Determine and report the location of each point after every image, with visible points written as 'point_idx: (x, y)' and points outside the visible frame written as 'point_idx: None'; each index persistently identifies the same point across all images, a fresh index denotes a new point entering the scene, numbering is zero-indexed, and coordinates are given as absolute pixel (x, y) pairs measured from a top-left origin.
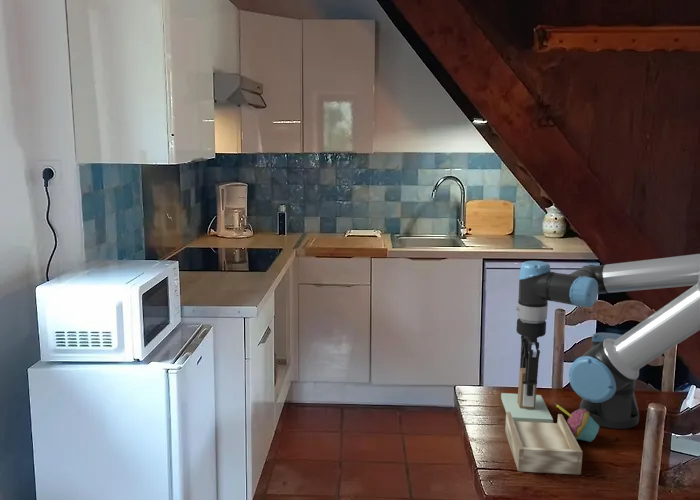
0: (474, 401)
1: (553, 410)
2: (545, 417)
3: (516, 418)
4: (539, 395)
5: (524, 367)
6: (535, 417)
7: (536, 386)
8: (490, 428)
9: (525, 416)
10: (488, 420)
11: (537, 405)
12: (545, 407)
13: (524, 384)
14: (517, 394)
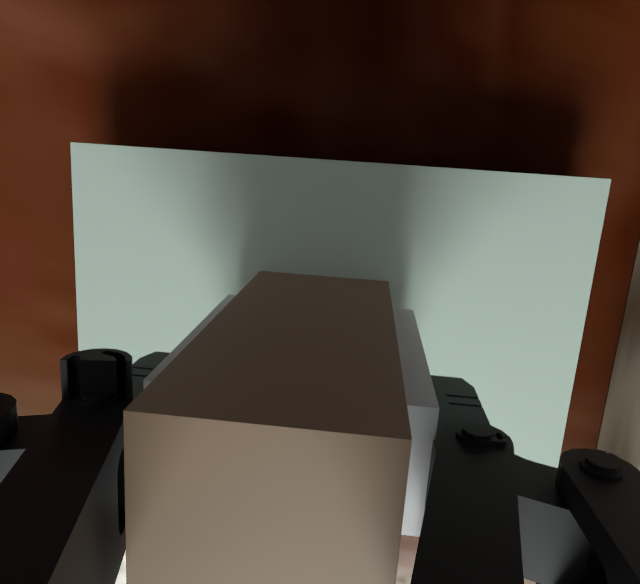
0: (119, 579)
1: (215, 60)
2: (565, 236)
3: (553, 466)
4: (84, 158)
5: (107, 574)
6: (561, 322)
7: (397, 352)
8: (526, 579)
9: (538, 398)
10: (407, 563)
11: (310, 237)
12: (350, 176)
13: (415, 524)
14: (92, 347)
